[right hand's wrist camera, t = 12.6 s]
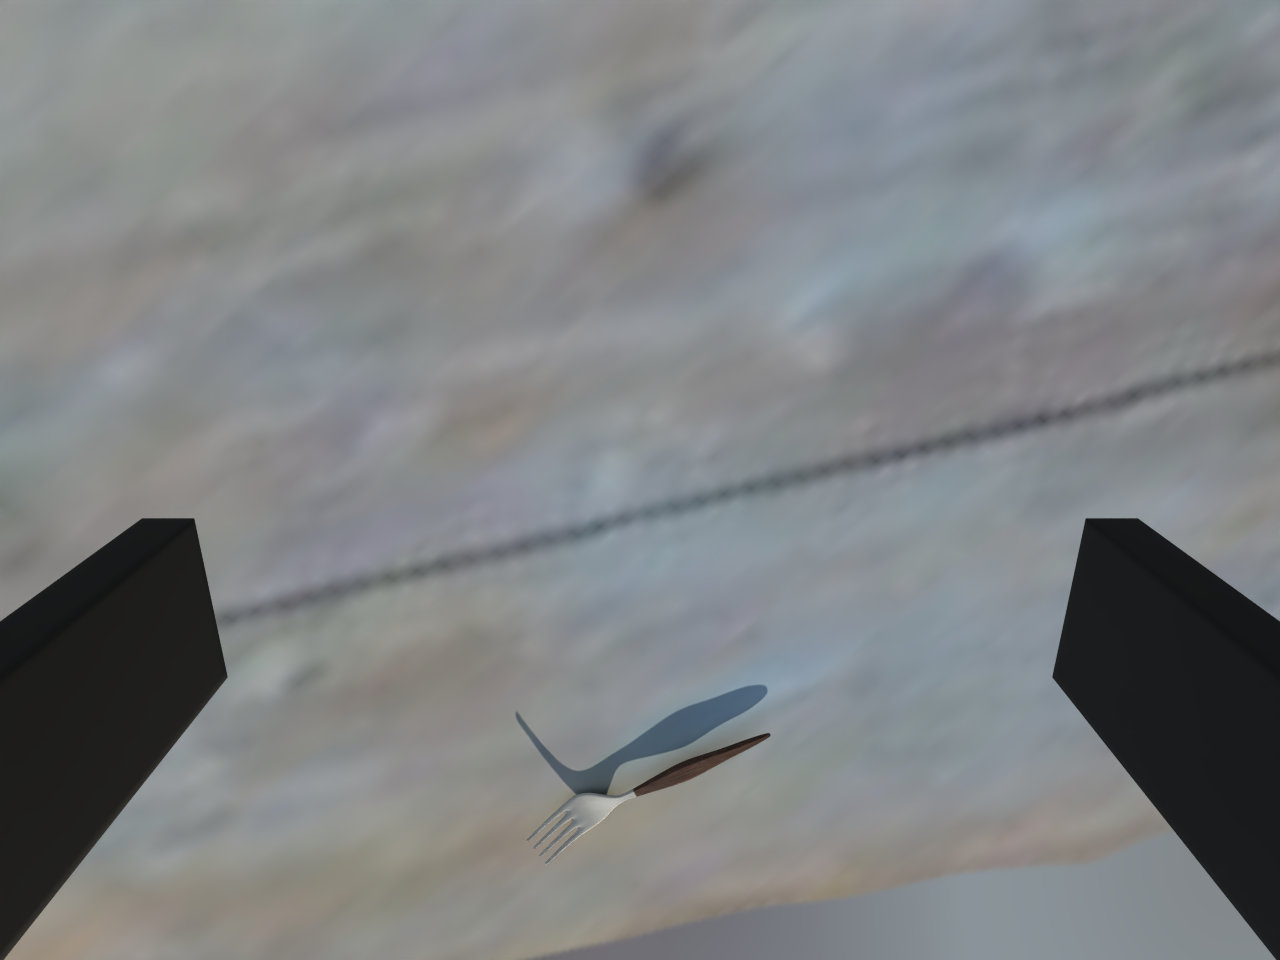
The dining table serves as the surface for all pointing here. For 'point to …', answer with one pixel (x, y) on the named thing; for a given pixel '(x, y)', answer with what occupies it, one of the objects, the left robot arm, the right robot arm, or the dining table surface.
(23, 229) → the dining table surface
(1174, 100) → the dining table surface
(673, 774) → the fork
